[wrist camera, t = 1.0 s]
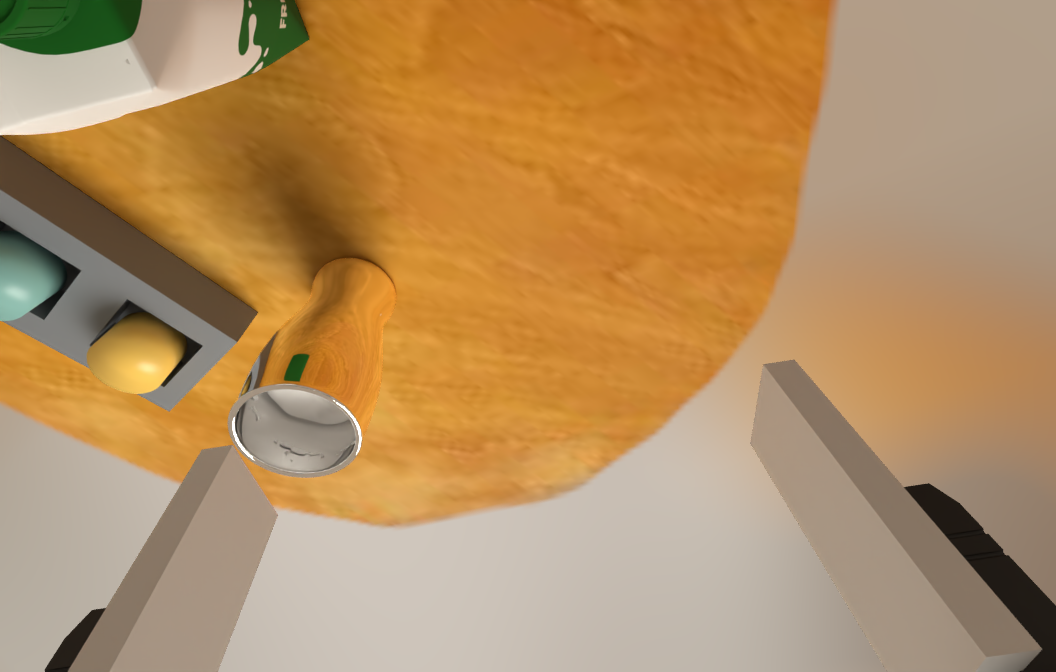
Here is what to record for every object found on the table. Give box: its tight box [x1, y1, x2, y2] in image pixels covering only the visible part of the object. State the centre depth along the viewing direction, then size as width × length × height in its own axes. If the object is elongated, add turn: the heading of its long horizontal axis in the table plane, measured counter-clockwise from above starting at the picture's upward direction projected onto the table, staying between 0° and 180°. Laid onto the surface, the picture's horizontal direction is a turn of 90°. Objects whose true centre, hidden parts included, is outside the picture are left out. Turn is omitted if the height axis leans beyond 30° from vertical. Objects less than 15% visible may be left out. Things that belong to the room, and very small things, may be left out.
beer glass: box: [228, 258, 396, 478], centre depth 33 cm, size 7×7×15 cm
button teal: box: [0, 231, 67, 321], centre depth 31 cm, size 4×4×3 cm
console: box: [0, 136, 258, 411], centre depth 33 cm, size 24×9×4 cm, turn 42°
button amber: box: [87, 312, 187, 394], centre depth 35 cm, size 4×4×3 cm
